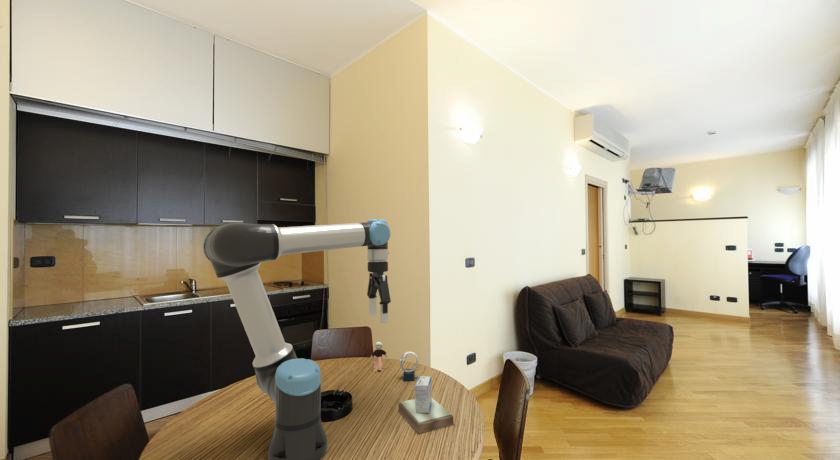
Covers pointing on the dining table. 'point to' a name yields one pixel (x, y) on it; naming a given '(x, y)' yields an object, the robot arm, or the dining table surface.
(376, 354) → the grandmother figurine
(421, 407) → the medicine box
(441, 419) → the platform
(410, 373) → the watch
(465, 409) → the dining table surface
